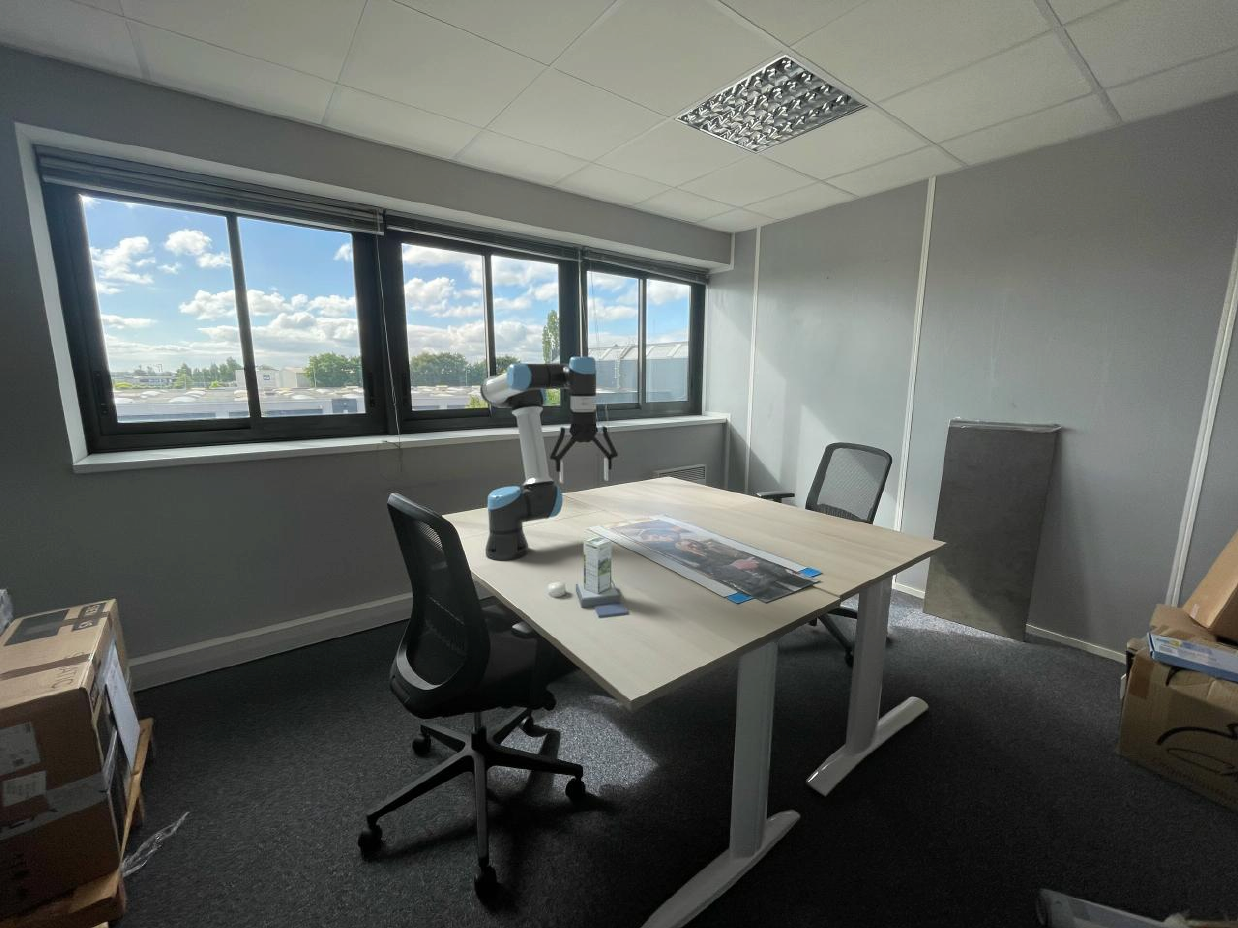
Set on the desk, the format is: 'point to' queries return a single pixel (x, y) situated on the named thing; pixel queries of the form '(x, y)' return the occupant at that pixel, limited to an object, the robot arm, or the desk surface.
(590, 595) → the podium
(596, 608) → the navy notebook
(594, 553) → the syrup box
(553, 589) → the white dome
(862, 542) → the desk surface
